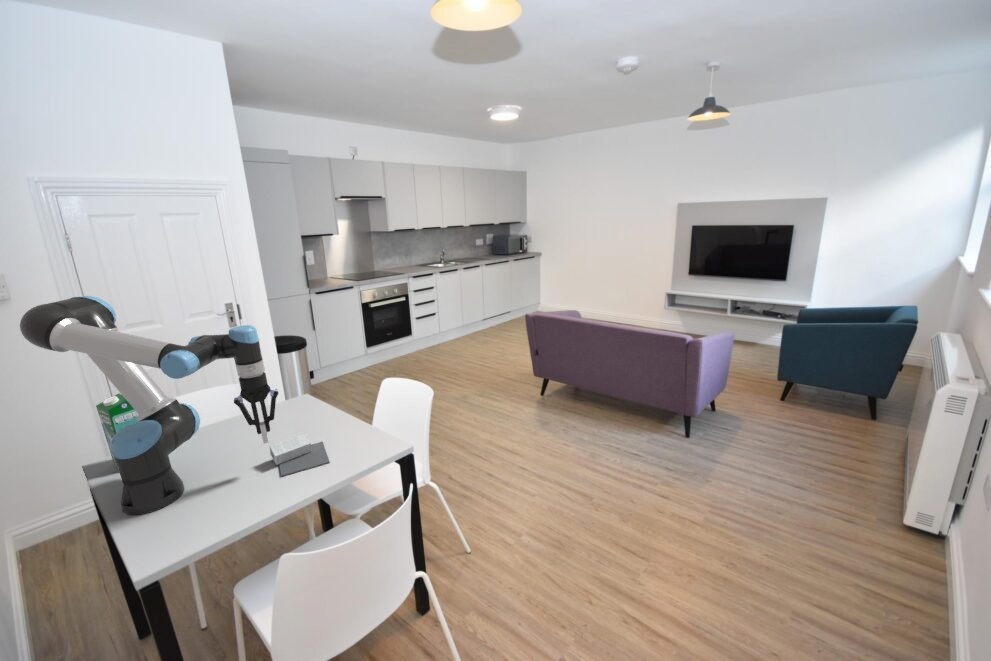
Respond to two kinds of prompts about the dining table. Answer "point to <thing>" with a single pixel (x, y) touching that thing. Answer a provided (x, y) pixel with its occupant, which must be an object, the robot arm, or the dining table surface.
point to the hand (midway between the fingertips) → (265, 441)
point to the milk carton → (115, 417)
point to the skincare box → (290, 448)
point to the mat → (305, 460)
